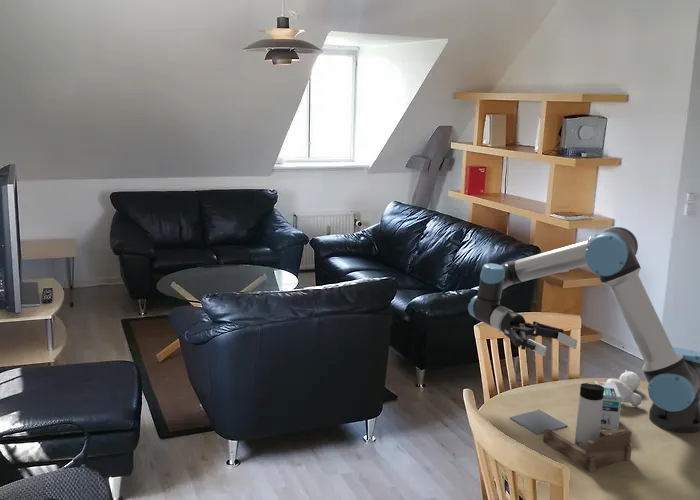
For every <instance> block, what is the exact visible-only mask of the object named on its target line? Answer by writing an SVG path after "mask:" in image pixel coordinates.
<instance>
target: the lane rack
mask: <svg viewBox="0 0 700 500" xmlns="http://www.w3.org/2000/svg"><path fill="white" fill-rule="evenodd" d="M631 436H632V430H629V429H627V428H626V429H624V430H620V431H617V432H614V433H609V432H607V431H605V430H603V428H600V433H599V438H596V439H593V440H590V441H587V450H586V451H585V450H583V449H582V448H580V447H578V446H577V445H575V443H573V442H572V441H570V440H568V439H566V438H565V437H563V436H561V435H560V434H558V433H557V432H555V431H551V430H550V429H544V433H543V436H542V438H543V439H542V443H543V444H545V445H547V446H548V447H550V448H551V449H553V450H554V451H556V452H558V453H559V454H561V455H562V456H564V457H565V458H567V459H569V460H570V461H572V462H574V463H575V464H577V465H579V466H580V467H581V468H583V469H584V470H586V471H588V472H590V473H594V472H596V470H597V469H600V468H603V467H606V466H609V465H612V464H614V463H617V462H621V461H626V462H627V461H630V460H631V457H632V449H633V445H631V438H632V437H631Z"/></svg>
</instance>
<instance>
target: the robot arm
mask: <svg viewBox="0 0 700 500" xmlns="http://www.w3.org/2000/svg"><path fill="white" fill-rule="evenodd" d="M638 243H639V242H638V240H637V237H636V236H635V234H634V233H633V232H632V231H631V230H629V229H627V228H625V227H621V226H616V227H615V226H614V227H610V228H607V229H606V230H604V231H602V232H599V233H596V234H593V235H591V236H589V237H588V239H587V240H583V241H580V242H577V243H574V244H569V245H565V246H563V247H559V248H556V249H552V250H548V251H544V252H542V253H541V252H540V253H537V254H534V255H531V256H527V257H523V258H520V259H517V260H513V261H505V262H503V263H501V264H498V263H485V264H483V265H482V267H481V271H480V275H479V277H480V278H479V284H478V291H477V295H475V296H473V297H472V298H471V299H470V302H469V303H468V306H467V310H468V314H469V315H470V316H471V317H472V318H475V319H476V320H477V321H480V322H482V323H484V324H486V325H487V326H490V327H492V328H493V329H495V330H497V331H498V332H501V333H503V335H504V336H505V337H507V338H508V339H509V340H510V341H511V343H512V344H513V345H514V346H515V347H516V348H520V347H521V348H520V349H521V350H526V348H527V349H528V350H530V351H533V352H534V353H537V354H539V355H540V356H542V357H546V352H547V346H545V345H543V344H541V343H539V342H537V341H535V340H533V339H532V338H528V339H527V337H530V336H531V337H544V338H548V339H549V338H550V339H552V340H553V339H555V340H556V341H557V342H559V343H561V344H563V345H565V346H567V347H569V348H571V349H573V350H575V349H577V344H578V340H577V339H575V338H574V337H572V336H569V335H567V334H565V333H564V332H565V330H564V329H562V328H558V327H555V326H551V325H548V324H543V323H540V322H538V321H532V323H530V322H527V321H526V320H525V317H524V315H522V314H520V313H517V312H515V311H513V310H512V309H510V308H508V307H506V306H504V305H503V306H502V305H501V299H502V294H503V293H502V292H503V290H504V289H506V288H508V287H510V286H512V285H515V284H520V283H523V282H526V281H530V280H534V279H539V278H542V277H547V276H550V275H553V274H554V275H555V274H558V273H563V272H566V271H570V270H574V269H577V268H582V267H588V268H589V269H590V270H591V271H592V272H593V273H595V274H597V276H598V278H599V280H600V282H601V284H602V285H605V286H607V287H609V289H610V291H611V293H612V295H613V297H614V300H615V302H616V304H617V305H618V308H619V310H620V312H621V315H622V317H623V319H624V320H625V323H626V325H627V327H628V329H629V331H630V333H631V335H632V338H633V340H634V342H635V344H636V346H637V348H638V350H639V352H640V355H641V356H642V359H643V361H644V364H643V366H642V367H641V369H642V372H643V374H644V376H645V378H646V380H647V383H648V386H647V394H648V396H649V398H650V400H651V402H652V405H651V406H650V409H649V414H648V418H649V420H650V421H651V422H652V423H653V424H655V425H657V426H659V427H660V428H663V429H665V430H669V431H672V432H676V433H678V432H679V433H688V434H689V433H697V432H700V352H699V351H697V350H693V349H689V348H683V347H678V346H677V347H676V346H675V347H674V346H673V345H672V343H671V341H670V339H669V336H668V335H667V332H666V331H665V328H664V326H663V324H662V322H661V320H660V318H659V316H658V313H657V311H656V310H655V308H654V306H653V303H652V301H651V299H650V297H649V295H648V293H647V290H646V288H645V286H644V284H643V281H642V280H641V278H640V275H639V273H640V271H641V270H642V269H641V265H640V262H639V261H638V258H637V257H636V256H637V253H638V249H639V244H638Z"/></svg>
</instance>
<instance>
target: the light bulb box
mask: <svg viewBox="0 0 700 500" xmlns="http://www.w3.org/2000/svg"><path fill="white" fill-rule="evenodd" d="M595 384H598V385H601V386H603V387H604V394H603V406H602V415H601V424H600V429H608V430H616V431H618V430H619V428H620V416H621V410H622V409H621V408H622V402H621V401H622V396H621V394H620V392H619V390H618V387H617V384H616V383H606V381H605V382H604V381H596V380H595V381H594V385H595Z"/></svg>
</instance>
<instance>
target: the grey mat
mask: <svg viewBox="0 0 700 500" xmlns="http://www.w3.org/2000/svg"><path fill="white" fill-rule="evenodd" d="M509 419H510V420H512V421H513V422H515V423H517V424H519V425H520V426H521V427H523V428H525V429H526V430H528V431H530V432H531V433H533V434H535V435H536V436H539V435H544V429H550V430H551V431H553V432H555V431H557V430H560V429H565V428H567V427H568V425H567V424H566V423H564V422H563V421H560V420H558V418H555V417H553V416H552V415H550V414H548V413H547V412H545V411H544V410H541V409H536V410H531V411H527V412H524V413H521V414H516V415H514V416H509Z"/></svg>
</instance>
